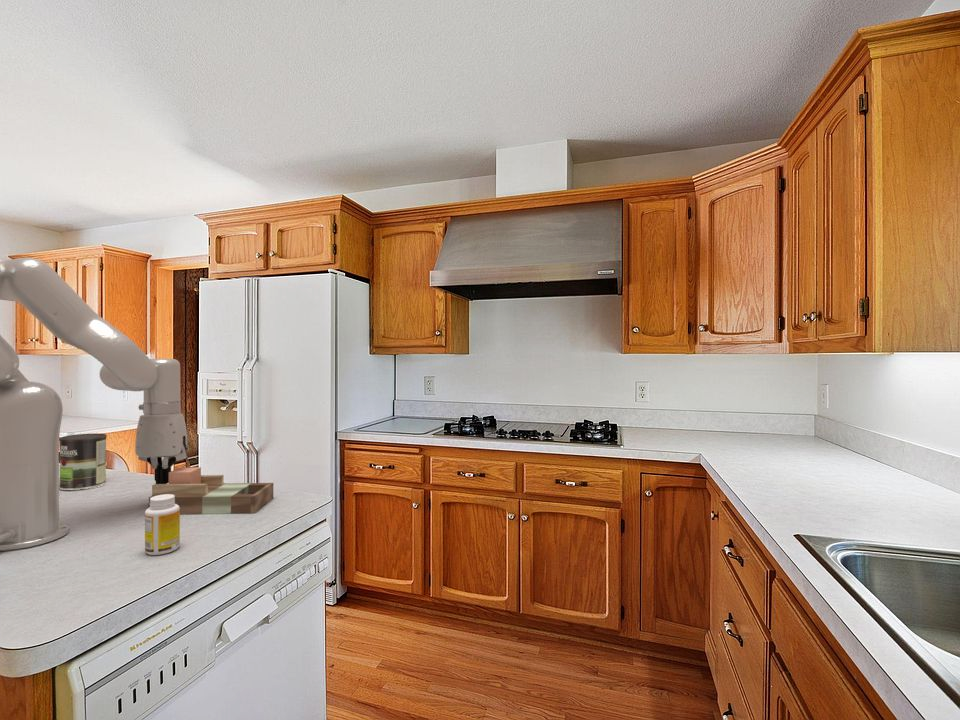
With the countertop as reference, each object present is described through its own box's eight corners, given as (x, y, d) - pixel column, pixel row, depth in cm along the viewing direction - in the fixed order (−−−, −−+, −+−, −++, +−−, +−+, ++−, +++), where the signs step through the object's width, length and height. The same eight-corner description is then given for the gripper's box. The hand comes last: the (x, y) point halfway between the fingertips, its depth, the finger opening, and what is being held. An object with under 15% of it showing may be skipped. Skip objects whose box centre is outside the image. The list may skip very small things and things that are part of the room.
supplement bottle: (185, 544, 95) (185, 492, 95) (170, 555, 89) (170, 501, 89) (155, 545, 94) (155, 493, 94) (138, 556, 89) (138, 501, 88)
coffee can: (76, 492, 129) (76, 440, 129) (49, 489, 132) (49, 438, 132) (115, 483, 139) (115, 434, 138) (90, 480, 142) (90, 432, 141)
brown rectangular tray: (255, 513, 113) (255, 485, 113) (148, 514, 112) (148, 486, 111) (273, 498, 125) (273, 473, 125) (177, 499, 123) (177, 474, 123)
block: (190, 492, 115) (190, 472, 115) (168, 493, 115) (168, 472, 115) (200, 487, 120) (200, 467, 120) (180, 487, 120) (180, 467, 120)
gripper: (119, 411, 113) (120, 488, 113) (186, 410, 114) (186, 487, 114) (139, 407, 120) (140, 480, 121) (201, 407, 122) (202, 479, 122)
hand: (162, 483), depth 118 cm, fingers closed
